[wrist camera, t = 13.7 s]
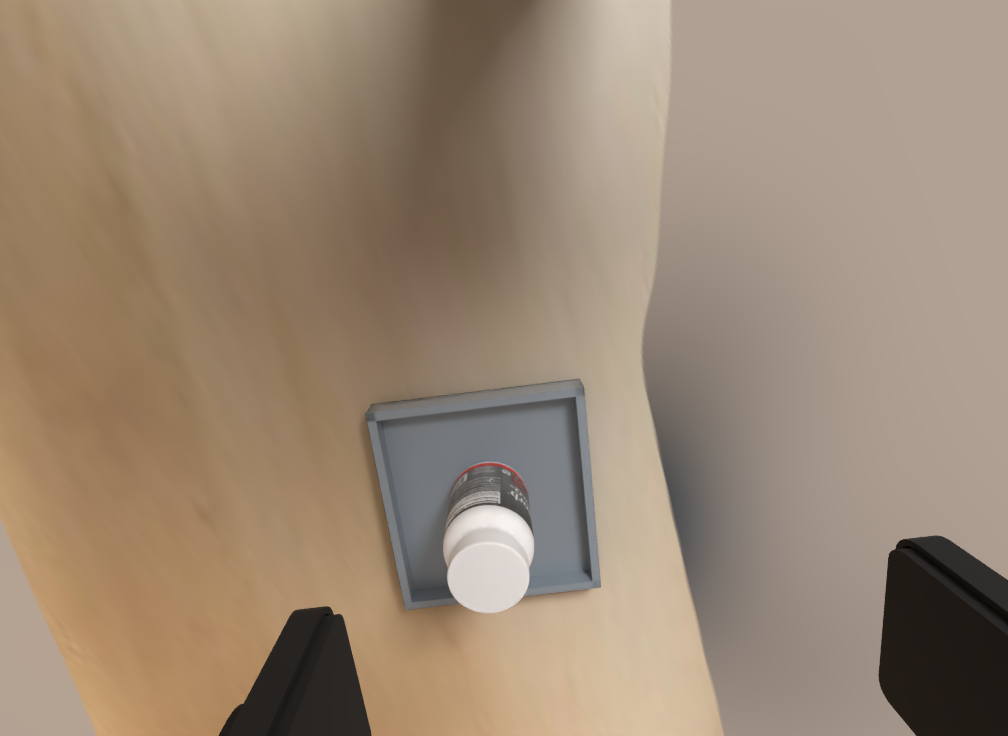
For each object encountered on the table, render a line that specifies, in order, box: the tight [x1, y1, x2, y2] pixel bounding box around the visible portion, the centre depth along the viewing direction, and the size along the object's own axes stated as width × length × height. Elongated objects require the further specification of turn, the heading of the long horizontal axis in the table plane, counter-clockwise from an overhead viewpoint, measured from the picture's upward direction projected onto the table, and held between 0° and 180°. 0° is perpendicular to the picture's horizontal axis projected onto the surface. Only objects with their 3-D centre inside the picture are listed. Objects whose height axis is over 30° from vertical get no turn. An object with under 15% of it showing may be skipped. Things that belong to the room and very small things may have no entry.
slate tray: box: [366, 379, 601, 610], centre depth 38 cm, size 16×15×2 cm
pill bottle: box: [443, 462, 534, 613], centre depth 34 cm, size 6×6×10 cm
